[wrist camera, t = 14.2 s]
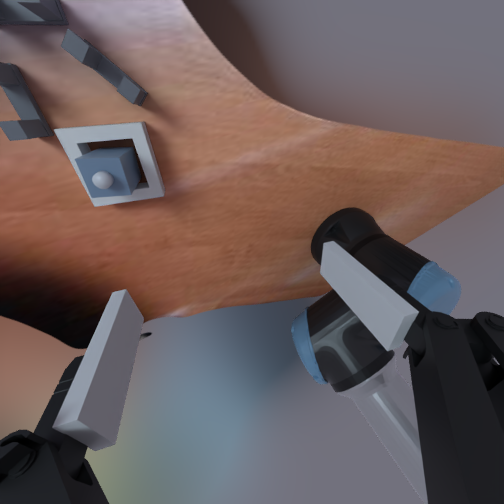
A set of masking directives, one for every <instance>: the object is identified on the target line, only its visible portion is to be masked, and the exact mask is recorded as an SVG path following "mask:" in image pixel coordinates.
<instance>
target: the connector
mask: <svg viewBox="0 0 504 504" xmlns="http://www.w3.org/2000/svg"><path fill="white" fill-rule="evenodd" d="M75 161H76V163H77V166H78V168H79V170H80V172H81V175H82V177H83V179H84V181H85V184H86V186H87V188H88V191H89V193H90V195H91V197H92V198H99V197H112V196H125V195H132V193H133V191H134V190H135V188H136V186H137V185H138V183H139V181H140V180H141V178H142V176H141V173H140V169H139V166H138V162H137V159H136V155H135V152H134V148H133V147H107V148H98V149H96V150H93V151H91V152H89V153H87V154H85V155H82V156H80V157H78V158H76V159H75Z"/></svg>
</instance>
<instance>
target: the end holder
mask: <svg viewBox="0 0 504 504" xmlns="http://www.w3.org/2000/svg"><path fill="white" fill-rule="evenodd" d="M54 131H55V133H56V135H57V137H58V139H59V141H60V143H61V144H62V146H63V148H64V150H65V152H66V154H67V156H68V158H69V159H70V161H71V163H72V165H73V167H74V169H75V171H76V173H77V174H78V176H79V178H80V180H81V182H82V184H83V186H84V188H85V189H86V191H87V193H88V195H89V197H90V199H91V201H92V203H93V204H94V206H95V207H96V206H103V205H109V204H116V203H123V202H130V201H137V200H144V199H150V198H157V197H164V194H165V187H164V184H163V181H162V178H161V174H160V171H159V168H158V164H157V161H156V158H155V155H154V151H153V148H152V145H151V142H150V138H149V135H148V132H147V129H146V125H145V122H133V123H120V124H107V125H94V126H81V127H68V128H60V129H54ZM129 138H132V139H133V142H134V145H135V148H136V150H137V153H138V156H139V159H140V162H141V165H142V168H143V171H144V173H145V176H146V179H147V182H146V183H138V185H137V186H136V188H135V190H134V191H133V193H132V195H125V196H112V197H99V198H92V197H91V195H90V193H89V191H88V188H87V186H86V184H85V181H84V179H83V177H82V175H81V172H80V170H79V168H78V166H77V163H76V161H75V159H76V158H78V157H80V156H82V155H85V154H87V153H89V152H91V150H90V148H89V146H88V144H87V142H97V141H108V140H118V139H129Z"/></svg>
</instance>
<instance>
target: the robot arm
mask: <svg viewBox="0 0 504 504" xmlns="http://www.w3.org/2000/svg"><path fill="white" fill-rule="evenodd" d="M311 253H312V256H313V258H314V259H315V260H316V261H317V262H318V263H319V264H320V265H321V270H320V274H321V275H322V276H323V277H324V278H325V279H326V281H327V282H328V283H329V284H330V285H331V286H332V288H333V289H332V290H331V291H330V292H328V293H327V294H326V295H324V296H323V297H322V298H320V299H319V300H318V301H316V302H315V303H314V304H313V305H311V306H310V307H306V308H305V311H303V312H302V313H301V314H299V315H298V316H297V317H296V318H295V319H294V320H293V322H292V326H291V331H292V337H293V341H294V344H295V347H296V349H297V352H298V354H299V356H300V358H301V360H302V362H303V364H304V366H305V367H306V369H307V371H308V372H309V373H310V375H311V376H313V378H314V380H315V381H317V383H319V384H327V383H328V382H329V383H330V384H331V386H332V387H333V389H334V390H335V392H336V393H337V394H338V395H342V396H345V397H348V398H350V399H352V400H353V402H354V403H355V405H356V406H357V408H358V409H359V410H360V412H361V413H362V415H363V416H364V418H365V419H366V420H367V422H368V423H369V425H370V426H371V428H372V429H373V431H374V432H375V434H376V435H377V436H378V438H379V439H380V441H381V442H382V443H383V445H384V447H385V448H386V449H387V451H388V452H389V454H390V455H391V457H392V458H393V460H394V461H395V463H396V464H397V465H398V467H399V468H400V470H401V471H402V472H403V474H404V476H405V477H406V478H407V480H408V481H409V483H410V484H411V486H412V487H413V488H414V490H415V491H416V493H417V494H418V496H419V497H420V498H421V500H422V502H423V503H424V504H504V317H502V316H500V315H497V314H494V313H490V312H479V313H477V314H476V315H475V317H474V318H473V319H454V318H453V317H451V316H449V314H450V313H451V312H452V310H453V309H454V308H455V306H456V304H457V303H458V301H459V298H460V295H461V286H460V283H459V281H458V280H457V279H456V278H455V277H454V276H452V275H451V274H449V273H448V272H446V271H445V270H443V269H442V268H440V267H439V266H438V265H437V263H435V262H433V261H430V260H428V259H427V258H425V257H423V256H421V255H420V254H418V253H416V252H415V251H413V250H411V249H410V248H408V247H406V246H404V245H403V244H401V243H399V242H398V241H396V240H394V239H393V238H391V237H389V236H388V235H386V234H385V233H384V232H383V231H382V230H381V228H380V227H379V226H378V225H377V223H376V222H375V220H374V219H373V217H372V216H371V215H370V214H368V213H366V212H365V211H363V210H361V209H358V208H346V209H342V210H340V211H338V212H336V213H334V214H332V215H331V216H330V217H328V218H327V219H326V220H325V221H324V222H323V223H322V224H321V225H320V227H319V228H318V229H317V231H316V233H315V235H314V237H313V240H312V243H311ZM143 321H144V318H143V316H142V314H141V313H140V311H139V309H138V308H137V306H136V305H135V303H134V301H133V300H132V298H131V296H130V295H129V293H128V291H127V290H126V289H125V290H121V291H116V292H113V293H112V295H111V297H110V299H109V302H108V304H107V306H106V308H105V311H104V313H103V315H102V317H101V320H100V322H99V324H98V326H97V328H96V331H95V333H94V335H93V337H92V340H91V342H90V344H89V346H88V349H87V351H86V353H85V355H83V356H80V357H76V358H75V359H74V360H73V361H72V362H71V363H70V364H69V366H68V367H67V368H66V369H65V371H64V373H63V375H62V377H61V379H60V381H59V384H58V385H57V387H56V389H55V391H54V395H52V397H51V399H50V401H49V403H48V405H47V407H46V409H45V411H44V413H43V415H42V417H41V419H40V421H39V423H38V425H37V427H36V429H35V431H34V433H32V432H30V431H28V430H18V431H16V432H13V433H11V434H9V435H8V436H6V437H5V438H3V439H2V440H0V504H109V502H108V501H107V499H106V496H105V495H104V492H103V490H102V488H101V486H100V485H99V482H98V480H97V478H96V477H95V474H94V473H93V471H92V468H91V467H90V464H89V462H88V461H87V460H86V459H85V458H84V457H85V454H86V450H87V447H89V448H90V449H92V450H94V451H97V450H100V449H103V448H105V447H109V446H112V445H115V443H116V439H117V434H118V430H119V426H120V421H121V417H122V412H123V408H124V404H125V399H126V395H127V391H128V386H129V382H130V378H131V373H132V369H133V364H134V360H135V356H136V351H137V347H138V343H139V338H140V334H141V330H142V325H143ZM404 340H405V341H406V343H408V345H409V346H408V347H407V349H406V351H405V353H404V355H403V358H405V359H406V357H407V355H408V356H409V364H410V371H411V379H412V386H413V389H412V387H411V386H410V385H409V384H408V383H407V381H406V380H405V379H404V378H403V377H402V376H401V374H400V373H399V372H398V371H397V368H396V354H395V353H394V351H393V349H396V348H398V347H400V346H401V344H402V342H403V341H404ZM494 357H495V359H496V360H497V361H498V363H499V364H500V365H498V364H497V363H496V362H495V361H494V359H493V358H494Z"/></svg>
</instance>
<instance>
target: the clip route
mask: <svg viewBox="0 0 504 504" xmlns="http://www.w3.org/2000/svg"><path fill="white" fill-rule="evenodd" d="M0 24H19V25H69V24H68V22H67V19H66V17H65V14H64V12H63V9H62V7H61V4H60V1H59V0H0ZM61 47H62V48H63V49H65V50H66V51H67V52H68V53H70V54H71V55H72V56H74V57H75V58H76V59H77V60H79V61H80V62H81V63H83V64H85V65H87V66H89V67H91V68H93V69H94V70H95V71H96V72H98V73H99V74H100V75H101V76H103V77H104V78H105V79H106V80H108V81H109V82H110V83H111V84H112V85H114V86H115V87H116V88H117V92H119V93H120V94H121V95H123V96H124V97H125V98H126V99H128V100H129V101H130V102H131V103H133V104H137V105H139V106H141V105H142V103H143V101H144V100H145V98H146V96H147V94H148V93H147V92H146V91H145V90H144V89H143V88H142V87H140V86H139V85H138V84H137V83H136V82H135V81H133V80H132V79H131V78H130V77H129V76H128V75H126V74H125V73H124V72H123V71H122V70H121V69H119V68H118V67H117V66H116V65H115V64H114V63H112V62H111V61H110V60H109V59H108V58H107V57H105V56H104V55H103V54H102V53H101V52H100V51H98V50H97V49H96V48H95V47H94V46H93V45H91V44H90V43H89V42H88V41H87V40H85V39H84V40H83V39H82V38H81V37H79V36H78V35H77V34H75V33H74V32H72V31H71V30H70V29H67V32H66V35H65V37H64V40H63V42H62V45H61ZM0 86H1V87H2V88H3V90H4V92H5V93H6V95H7V97H8V98H9V100H10V102H11V103H12V105H13V107H14V108H15V110H16V112H17V113H18V115H19V117H20V118H21V120H18V121H3V122H0V127H1V128H2V130H3V131H4V133H5V134H6V136H7V137H8V139H9V140H10V141H12V140H24V139H32V138H37V137H48V136H54V134H53V133H52V131H51V129H50V127H49V125H48V123H47V121H46V120H45V118H44V116H43V114H42V112H41V110H40V108H39V107H38V105H37V103H36V101H35V99H34V97H33V95H32V94H31V92H30V90H29V88H28V86H27V84H26V83H25V81H24V79H23V77H22V75H21V73H20V71H19V70H18V68H17V66H16V65H14V64H11V63H1V62H0Z"/></svg>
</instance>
